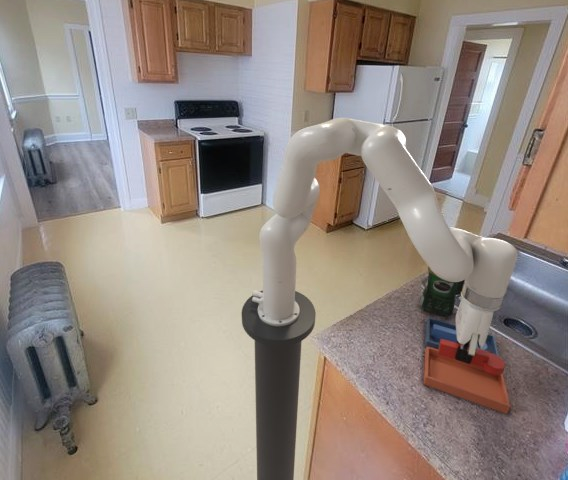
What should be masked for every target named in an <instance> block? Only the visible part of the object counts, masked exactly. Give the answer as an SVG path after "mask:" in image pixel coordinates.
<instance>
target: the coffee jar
mask: <svg viewBox="0 0 568 480" xmlns="http://www.w3.org/2000/svg"><path fill="white" fill-rule="evenodd" d="M427 270H428V275H427V279H426V283H425V286H424V289H423V291H422V294H421V297H420V307H421V308H422V310H424V311H425V312H427V313H429V314H433V315H436V316H440V317H444V318H448V317H452V315H454V311H455V303H456V298H457V296H456V295H457V289H458V285H459V282H449V281H446V280H443V279H441V278H440V277H438V276H437V275H436V274H435V273H434V272H433V271H432V270H431V269H430V268H429V266H428V265H427Z"/></svg>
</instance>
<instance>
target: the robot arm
mask: <svg viewBox="0 0 568 480" xmlns="http://www.w3.org/2000/svg"><path fill="white" fill-rule="evenodd" d="M345 154H349V155H354V156H358V157H361V159H362V161H363V163H364V165H365V167H366V168H367V169H368V171H369V172H370V174H371V175H372V176H373V178H374V179H375V181H377V183H378V185H379V186H380V188H381V189H382V190H383V192H384V193H385V194H386V196H387V198H389V200H390V201H391V203H392V204H393V206H394V207H395V209H396V211H397V213H398V216H399V218H400V221H401V223H402V225H403V226H404V228H405V230H406V233H407V235H408V237H409V239H410V241H411V243H412V244H413V247H414V248H415V250H416V251H417V252H418V254H419V255H420V257H421V258H422V260H423V261H424V263H425V264H426V265H427V267H428V266H429V268H430V269H431V270H432V271H433V272H434V273H435V274H436V275H437V276H438V277H440V278H441V279H443V280H446V281H449V282H458V283H460V282H463V281H464V282H463V285H462V288H461V291H460V296H461V299H460V302H459V305H458V307H457V310H456V315H455V324H456V334H457V342H456V343H459V344H460V345H458V349H457V352H456V355H455V359H456V360H458V361H461V362H464V363H468V364H470V363H471V360H472V357H473V356H475V351H476V346H477V343H478V348H479V349H482V348H483V346H484V344H485V341H486V339H487V335H488V334H489V331H490V328H491V325H492V321H493V316H494V314H495V313H494V312H496V311H499V310H500V309H501V306H502V304H503V301H504V299H505V296H506V293H507V290H508V287H509V285H510V281H511V279H512V275H513V273H514V270H515V266H516V264H517V261H518V259H519V258H518V257H519V253H518V250H517V248H516V247H515V246H514V245H513V244H512V243H509V242H507V241H505V240H502V239H499V238H494V237H483V236H481V235H477V234H474V233H472V232H468V231H466V230H463V229H462V228H461V229H460V228H456V227H449V226H448V224H447V222H446V219H445V218H444V216H443V213H442V211H441V208H440V205H439V201H438V198H437V194H436V191H435V188H434V187H433V185H432V183H431V182H430V180H429V179H428V178H427V176H426V174H425V173H424V172H423V171H422V170H421V169H422V168H420V166H419V165H418V163H416V161H415V160H414V158H413V157H412V155H411V154H410V152H409V151H408V149H407V139H406V135H404V133H403V132H402V130H400V129H399V128H397V127H394V126H392V125H387V124H382V123H376V122H371V121H365V120H360V119H355V118H350V117H335V118H332V119H330V120H326V121H324V122H322V123H318V124H313V125H310V126H307V127H304V128H301V129H299V130H298V131H296V132H295V133H294V134H293V135H292V136H291V137H290V139H289V140H288V142H287V144H286V147H285V151H284V155H283V160H282V162H281V167H280V170H279V173H278V177H277V180H276V184H275V189H274V192H273V196H272V207H273V210H274V211H275V214H274V215H273V216H272V217H270V218H269V219H268V220H267V221H266V222H265V223H264V224H263V225H262V226H261V229H260V231H259V235H258V237H259V238H258V239H259V245H260V249H261V256H262V257H261V258H262V290H263V293H261V292H260V291H259V290H256V289H254V290H253V291H252V294H251V296H254V297H253V298H252V301H254V302H257V303H259V306H258V315H259V317H260V319H261V320H262V321H263V322H265V323H266V324H269V325H272V326H286V325H289V324H291V323H293V322H294V321H295V320H296V319H297V318H298V316H299V311H300V310H299V305H298V304H297V302H296V301H295V291H296V283H297V256H296V253H295V246H296V244H297V242H298V241H299V240H300V239H301V237H302V236H303V235H304V234H305V233H306V232H307V230H308V229H309V227H310V224H311V222H312V219H313V215H314V213H315V209H316V206H317V203H318V201H319V197H320V191H321V190H320V184H319V182H318V180H317V178H316V175H317V171H318V170H317V169H318V165H319V164H320V163H324V162H331V161H335V160H337V159H339V158H340V157H342V156H343V155H345ZM256 297H257V298H256ZM258 298H260V299H258Z"/></svg>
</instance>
